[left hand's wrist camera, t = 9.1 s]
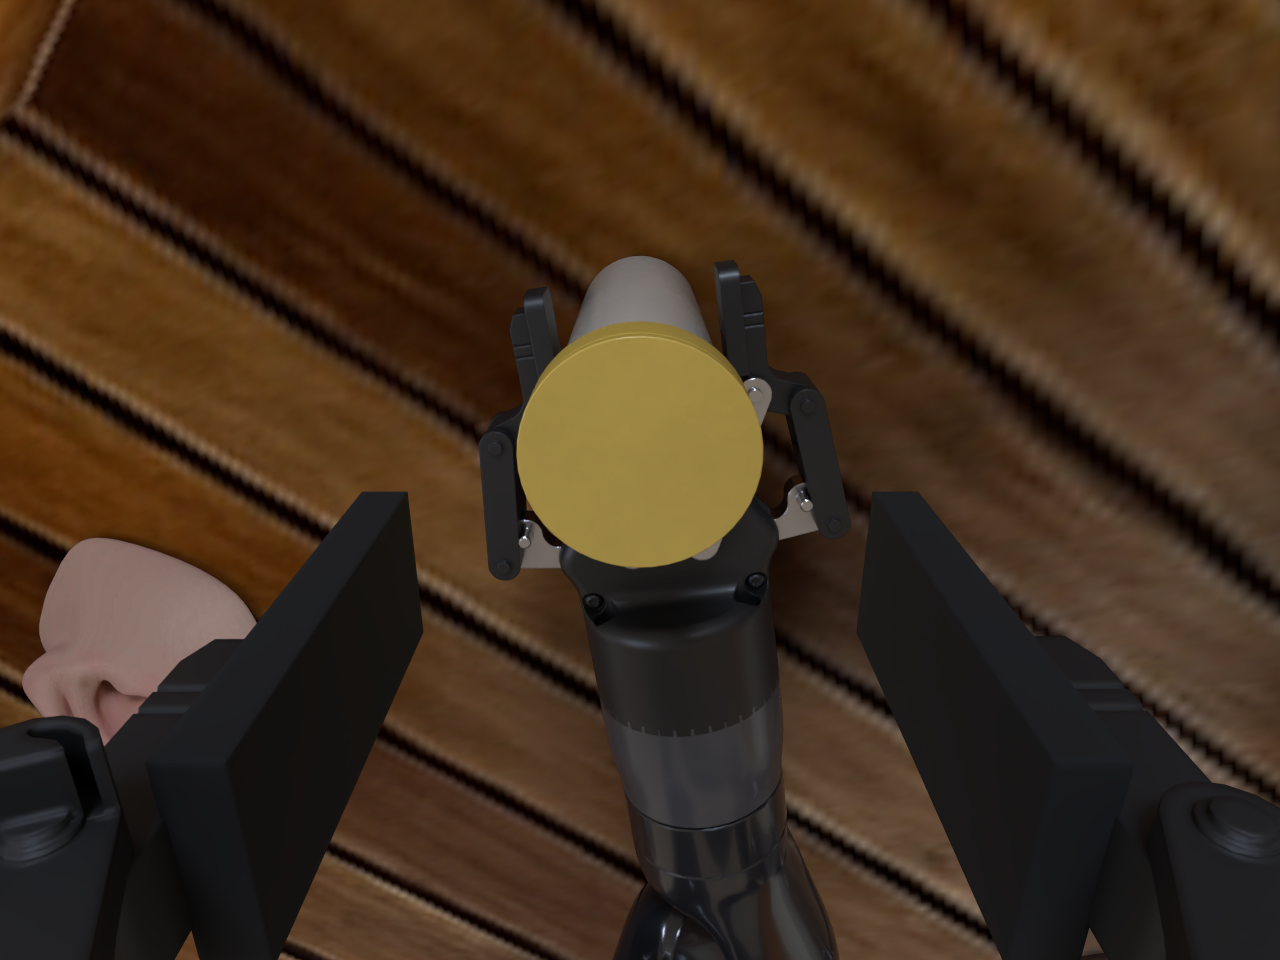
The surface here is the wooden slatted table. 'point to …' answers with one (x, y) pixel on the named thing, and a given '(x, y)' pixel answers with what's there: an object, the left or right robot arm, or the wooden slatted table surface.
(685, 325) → the jar
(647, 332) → the lid
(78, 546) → the anatomical model
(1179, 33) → the wooden slatted table surface
